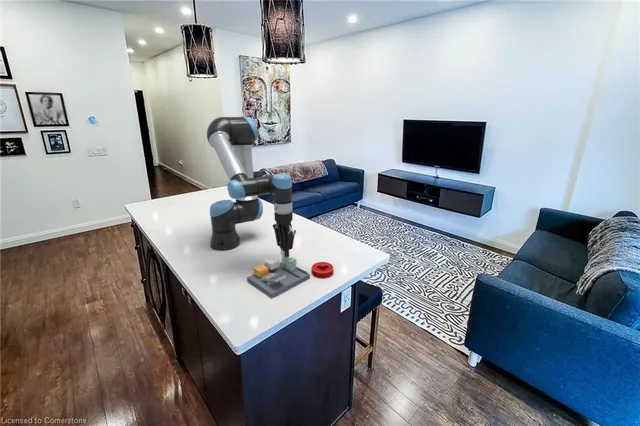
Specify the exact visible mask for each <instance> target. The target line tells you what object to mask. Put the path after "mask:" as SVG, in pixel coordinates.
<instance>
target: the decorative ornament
mask: <svg viewBox="0 0 640 426" xmlns="http://www.w3.org/2000/svg"><path fill="white" fill-rule="evenodd" d="M311 275H312V276H313V277H314V278H317V279H329V278H331V277H332V276H333V275H334V266H333V264H332V263H330V262H326V261H319V262H318V261H317V262H315V263H313V264H312V265H311Z"/></svg>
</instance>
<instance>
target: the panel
mask: <svg viewBox="0 0 640 426" xmlns="http://www.w3.org/2000/svg"><path fill="white" fill-rule="evenodd" d="M279 263H280V266H279V267H277V268H275V269H273V270H270V269H269V268H268V274H269V273H274V274H283V275H286V278H283V279H281V280H279V281H277V282H271V281H264V280H261V278H262V277H263V276H262V277H260V278H259V277H258V276H256V275H255V274H254V273H252V274H250V275H249V276H247V277H246V281H247V282H248V283H249V284H250V285H252V286H253V287H255V288H256V289H258V290H260V291H261V292H262V293H264V294H265V295H267V296H268V297H270V298H271V299H273V298H276V297H277V296H279V295H281V294H283V293H285V292H288V290H291V289H292V288H294V287H296V286H298V285H301V284H302V283H304V282H306V281H307V280H309V279H311V274H310V273H309V272H307V271H306V270H303V269H302V268H300V267H298V266H296V269H295V270H293V271H289V270H287V268H286V263H285V264H283V263H282V261H279Z"/></svg>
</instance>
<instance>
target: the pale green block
mask: <svg viewBox="0 0 640 426" xmlns="http://www.w3.org/2000/svg"><path fill="white" fill-rule="evenodd" d="M296 267H297V259H296V258H294V257H292V256H290V257H289V258H288V259H286V268H287V270H289V271H293V270H295V269H296Z"/></svg>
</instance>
